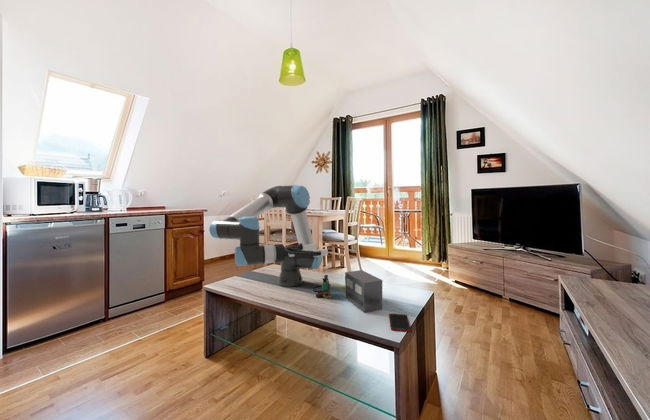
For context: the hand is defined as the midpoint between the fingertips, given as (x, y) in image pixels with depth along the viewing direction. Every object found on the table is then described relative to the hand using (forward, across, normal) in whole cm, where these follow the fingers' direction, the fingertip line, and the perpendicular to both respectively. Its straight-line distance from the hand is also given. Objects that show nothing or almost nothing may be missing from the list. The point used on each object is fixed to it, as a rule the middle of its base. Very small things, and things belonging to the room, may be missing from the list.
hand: (321, 249), depth 117 cm
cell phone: (+27, +20, -31) cm, 46 cm away
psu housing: (+24, -4, -30) cm, 38 cm away
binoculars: (+9, -22, -30) cm, 39 cm away
